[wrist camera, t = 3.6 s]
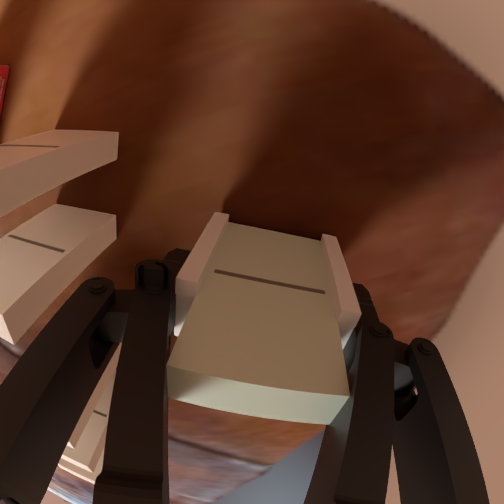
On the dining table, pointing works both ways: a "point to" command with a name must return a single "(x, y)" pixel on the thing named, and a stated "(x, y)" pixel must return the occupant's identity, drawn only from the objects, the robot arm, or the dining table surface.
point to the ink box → (3, 82)
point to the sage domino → (262, 332)
